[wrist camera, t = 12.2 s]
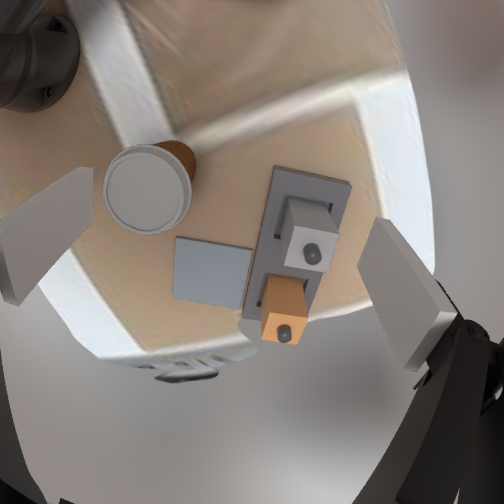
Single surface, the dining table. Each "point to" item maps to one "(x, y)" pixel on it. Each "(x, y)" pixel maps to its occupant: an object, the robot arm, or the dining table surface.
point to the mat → (210, 272)
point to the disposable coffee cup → (150, 186)
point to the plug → (283, 309)
